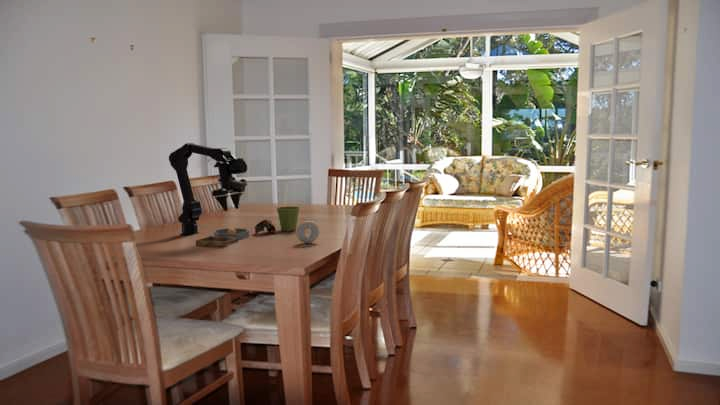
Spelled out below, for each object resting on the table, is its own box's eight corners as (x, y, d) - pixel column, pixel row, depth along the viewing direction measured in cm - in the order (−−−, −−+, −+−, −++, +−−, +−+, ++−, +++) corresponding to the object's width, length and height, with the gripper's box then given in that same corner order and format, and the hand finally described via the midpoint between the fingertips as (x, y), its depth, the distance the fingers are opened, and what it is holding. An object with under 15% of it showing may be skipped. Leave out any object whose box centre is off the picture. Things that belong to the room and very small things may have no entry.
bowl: (207, 239, 268) (207, 232, 268) (226, 234, 283) (225, 227, 282) (237, 242, 263) (237, 234, 263) (254, 236, 278) (254, 229, 277)
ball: (225, 237, 272) (225, 228, 271) (230, 235, 275) (229, 227, 275) (233, 237, 270) (232, 229, 270) (237, 236, 274) (237, 227, 274)
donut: (297, 244, 257) (297, 221, 256) (295, 243, 260) (295, 220, 259) (320, 243, 261) (320, 220, 260) (317, 241, 264) (317, 219, 263)
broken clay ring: (276, 237, 277) (267, 223, 275) (259, 245, 279) (250, 231, 277) (281, 227, 288) (272, 213, 286) (264, 235, 290) (255, 221, 288)
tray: (196, 245, 255) (195, 240, 255) (210, 241, 266) (210, 236, 265) (224, 247, 251) (224, 242, 251) (238, 242, 261) (238, 238, 261)
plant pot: (297, 227, 302) (297, 205, 300) (302, 231, 291) (302, 208, 289) (274, 229, 298) (273, 206, 297) (278, 232, 287) (278, 209, 286)
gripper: (230, 174, 259) (236, 210, 260) (251, 172, 277) (257, 205, 278) (208, 178, 263) (214, 213, 264) (231, 175, 281) (236, 208, 281)
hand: (231, 209), depth 272 cm, fingers open, 9 cm apart
